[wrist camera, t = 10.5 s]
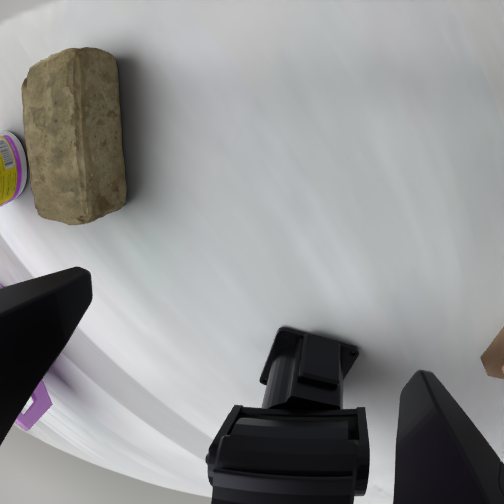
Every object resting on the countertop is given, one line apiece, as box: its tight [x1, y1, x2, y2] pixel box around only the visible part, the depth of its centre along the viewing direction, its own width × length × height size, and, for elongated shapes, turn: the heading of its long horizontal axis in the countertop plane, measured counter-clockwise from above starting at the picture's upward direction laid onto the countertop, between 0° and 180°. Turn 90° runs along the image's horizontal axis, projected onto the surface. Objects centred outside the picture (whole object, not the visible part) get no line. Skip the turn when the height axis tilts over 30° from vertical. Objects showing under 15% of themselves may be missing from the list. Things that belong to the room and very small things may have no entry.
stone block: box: [22, 47, 127, 225], centre depth 18 cm, size 6×12×5 cm, turn 2°
